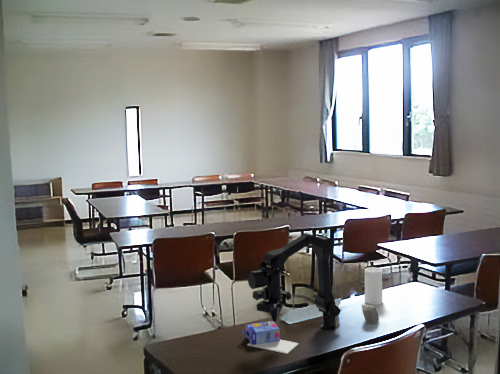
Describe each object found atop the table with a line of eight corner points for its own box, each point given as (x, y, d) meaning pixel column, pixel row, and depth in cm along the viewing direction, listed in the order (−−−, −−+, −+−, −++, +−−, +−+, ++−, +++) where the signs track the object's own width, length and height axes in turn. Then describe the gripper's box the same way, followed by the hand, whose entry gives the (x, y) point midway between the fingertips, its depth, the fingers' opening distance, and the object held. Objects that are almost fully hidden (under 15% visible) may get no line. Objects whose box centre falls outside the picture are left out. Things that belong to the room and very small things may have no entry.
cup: (361, 300, 261) (361, 268, 259) (376, 297, 263) (376, 266, 261) (370, 305, 253) (370, 272, 251) (385, 303, 255) (385, 270, 253)
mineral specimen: (358, 317, 237) (362, 300, 236) (378, 322, 235) (381, 305, 234) (357, 322, 230) (361, 305, 229) (377, 328, 228) (381, 310, 227)
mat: (259, 336, 222) (259, 335, 222) (298, 344, 213) (298, 343, 213) (247, 345, 214) (247, 344, 214) (287, 354, 205) (287, 353, 205)
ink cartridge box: (280, 328, 215) (245, 334, 211) (280, 341, 216) (246, 347, 212) (272, 319, 224) (239, 325, 221) (273, 332, 225) (240, 337, 221)
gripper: (267, 275, 224) (268, 310, 226) (244, 288, 208) (245, 326, 210) (291, 278, 218) (292, 314, 220) (268, 291, 203) (270, 331, 205)
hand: (274, 321), depth 214 cm, fingers closed
